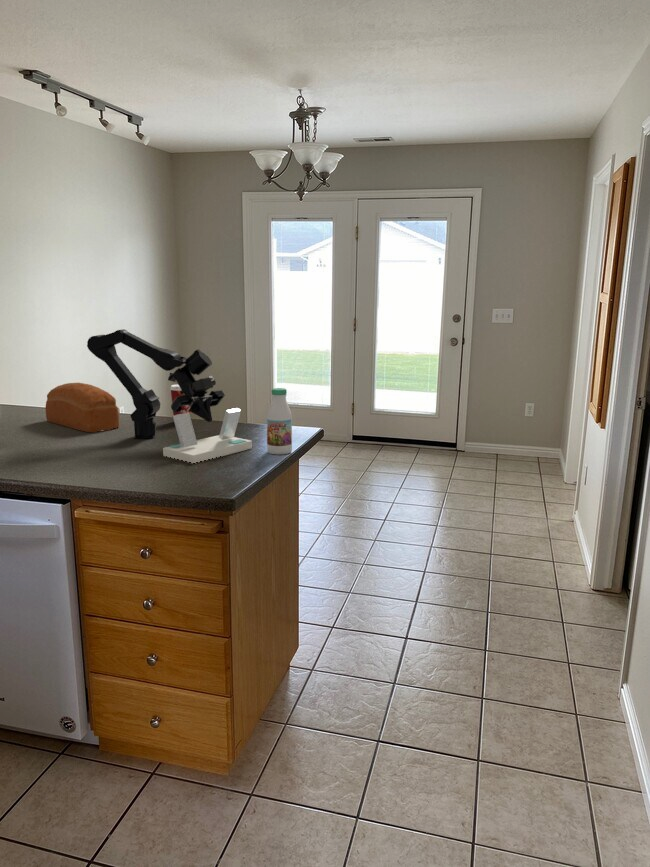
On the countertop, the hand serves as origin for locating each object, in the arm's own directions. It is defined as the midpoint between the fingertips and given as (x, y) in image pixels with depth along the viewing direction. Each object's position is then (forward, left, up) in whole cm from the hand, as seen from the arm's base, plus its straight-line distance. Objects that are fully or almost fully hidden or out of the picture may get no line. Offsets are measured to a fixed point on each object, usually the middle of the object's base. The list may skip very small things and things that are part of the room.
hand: (210, 421), depth 212 cm
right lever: (+5, -5, -4) cm, 8 cm away
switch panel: (0, -10, -8) cm, 13 cm away
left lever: (-6, -15, -4) cm, 17 cm away
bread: (-49, +36, -8) cm, 62 cm away
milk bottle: (+22, -12, -8) cm, 26 cm away
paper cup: (-13, +37, -8) cm, 40 cm away
